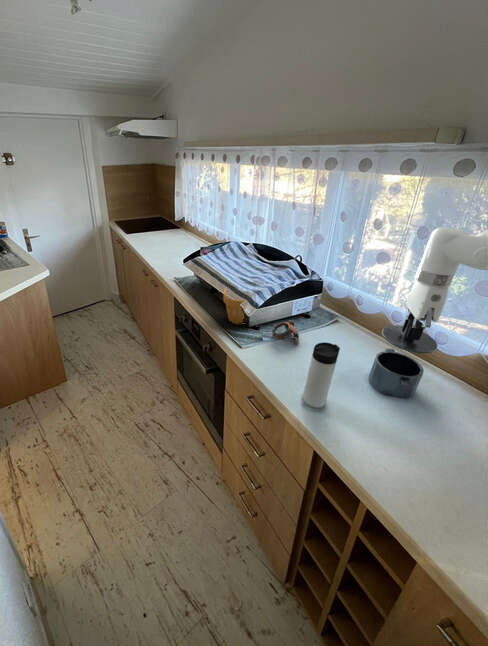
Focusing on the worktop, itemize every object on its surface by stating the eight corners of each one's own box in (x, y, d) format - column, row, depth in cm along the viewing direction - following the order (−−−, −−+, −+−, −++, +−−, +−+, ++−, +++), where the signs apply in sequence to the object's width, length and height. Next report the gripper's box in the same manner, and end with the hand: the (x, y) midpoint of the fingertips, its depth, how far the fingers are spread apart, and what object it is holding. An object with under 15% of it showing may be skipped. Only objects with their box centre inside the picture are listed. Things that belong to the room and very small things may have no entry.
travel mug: (329, 408, 89) (345, 353, 80) (308, 411, 88) (322, 355, 79) (318, 392, 94) (332, 339, 85) (298, 395, 93) (310, 342, 84)
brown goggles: (299, 350, 114) (290, 335, 111) (275, 352, 120) (266, 337, 117) (304, 328, 122) (296, 313, 119) (282, 330, 128) (274, 316, 125)
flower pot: (259, 327, 128) (262, 299, 122) (225, 328, 127) (227, 301, 121) (250, 310, 140) (253, 285, 134) (220, 312, 140) (221, 286, 133)
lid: (425, 332, 93) (433, 313, 90) (444, 358, 82) (454, 338, 78) (376, 326, 96) (382, 307, 93) (388, 351, 85) (395, 330, 82)
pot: (403, 370, 103) (411, 349, 99) (423, 409, 88) (434, 387, 84) (363, 364, 106) (369, 344, 102) (375, 401, 91) (384, 379, 87)
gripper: (466, 291, 71) (437, 354, 80) (437, 266, 85) (414, 322, 94) (429, 288, 73) (404, 349, 82) (406, 264, 87) (387, 319, 96)
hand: (410, 334), depth 88 cm, fingers closed on lid, 3 cm apart
